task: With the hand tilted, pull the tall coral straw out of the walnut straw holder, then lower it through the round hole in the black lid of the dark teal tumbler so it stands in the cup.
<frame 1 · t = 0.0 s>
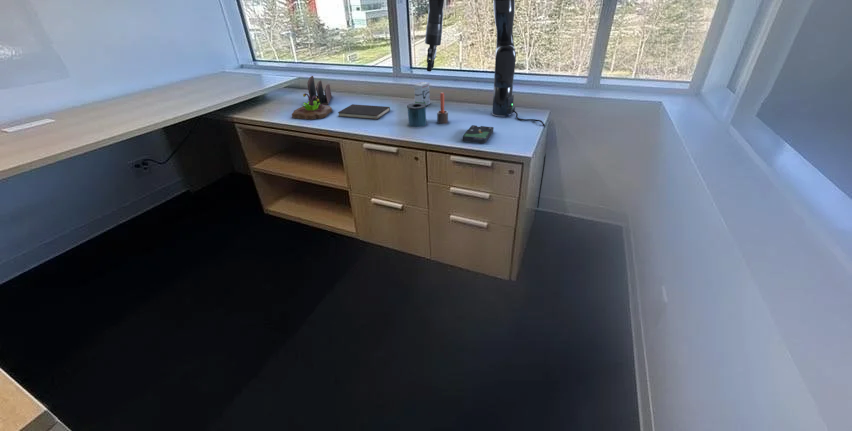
hand: (430, 69, 186), 22 cm above the cabinet, tool pointing down, fingers open, 8 cm apart
ink box: (422, 105, 213), on the cabinet
hardcover book: (364, 114, 203), on the cabinet
tumbler: (417, 125, 184), on the cabinet
letter holder: (322, 101, 228), on the cabinet
straw: (442, 107, 181), in the straw holder
straw holder: (442, 123, 185), on the cabinet
plant: (312, 114, 206), on the cabinet
tumbler lid: (416, 106, 179), on the tumbler, point 9 cm above the cabinet
disk drive: (478, 137, 167), on the cabinet
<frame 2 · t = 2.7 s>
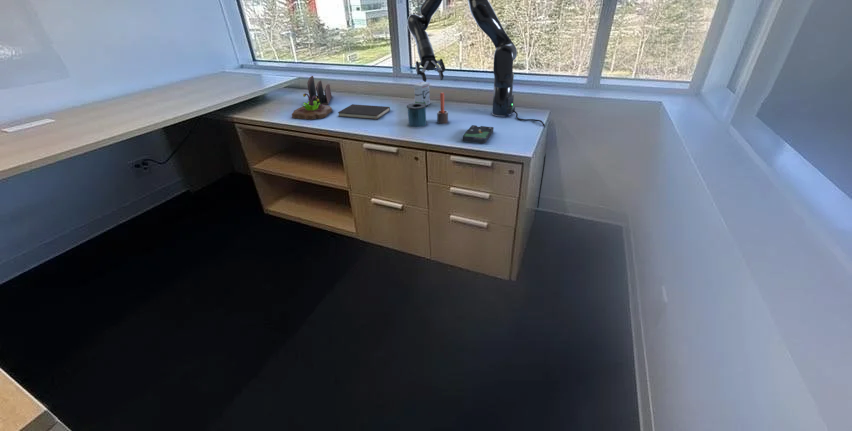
hand: (433, 80, 185), 18 cm above the cabinet, tool tilted 45°, fingers open, 8 cm apart
nothing on the cabinet moved.
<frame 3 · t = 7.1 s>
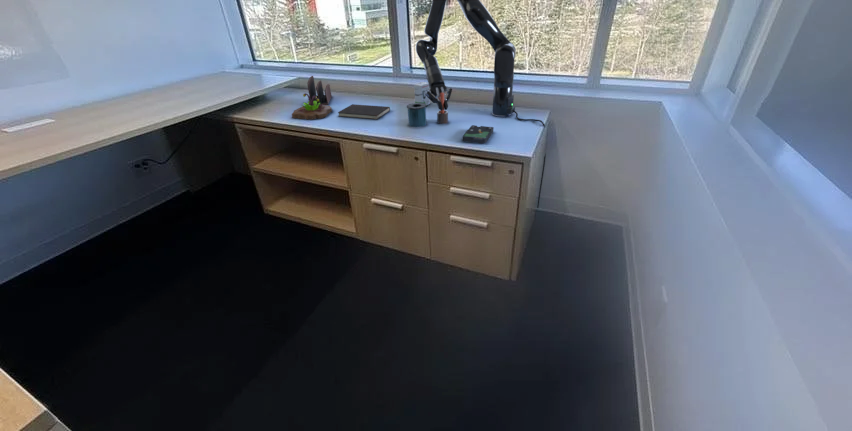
hand: (444, 109, 179), 7 cm above the cabinet, tool tilted 45°, fingers closed on straw, 2 cm apart
straw: (442, 107, 181), in the straw holder, touching gripper
everything else where it was.
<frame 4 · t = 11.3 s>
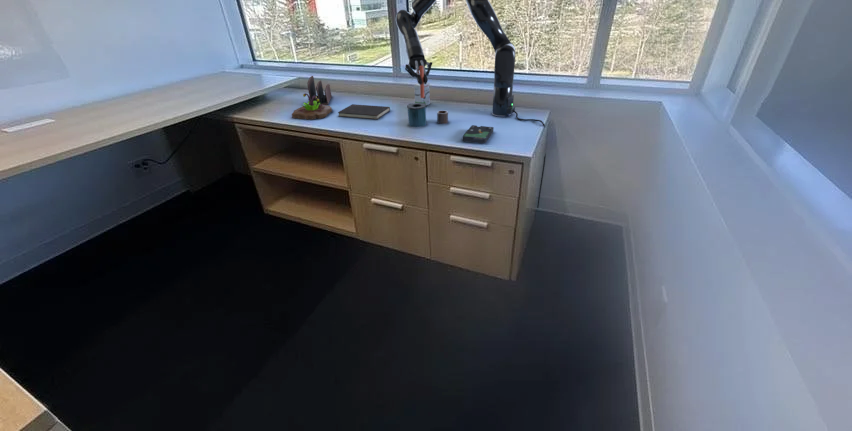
hand: (423, 83, 172), 20 cm above the cabinet, tool tilted 45°, fingers closed on straw, 2 cm apart
straw: (421, 82, 174), point 20 cm above the cabinet, touching gripper
everything else where it was.
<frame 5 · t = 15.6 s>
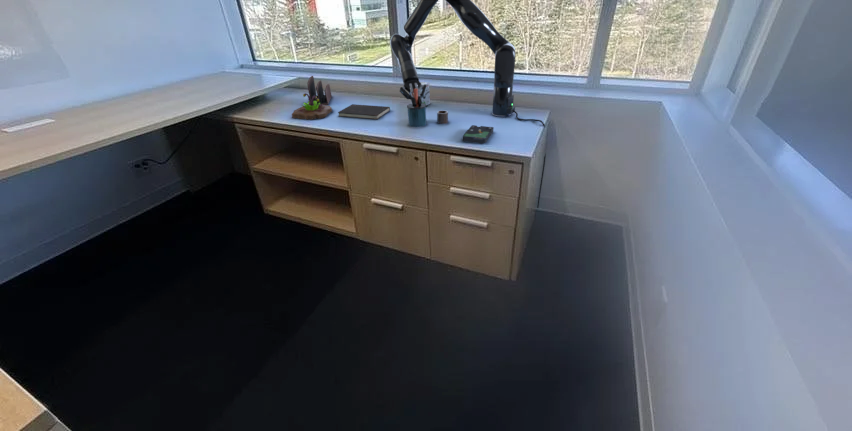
hand: (417, 105, 177), 10 cm above the cabinet, tool tilted 45°, fingers closed, pressing on straw, tumbler lid
straw: (416, 104, 178), point 10 cm above the cabinet, touching gripper
everything else where it was.
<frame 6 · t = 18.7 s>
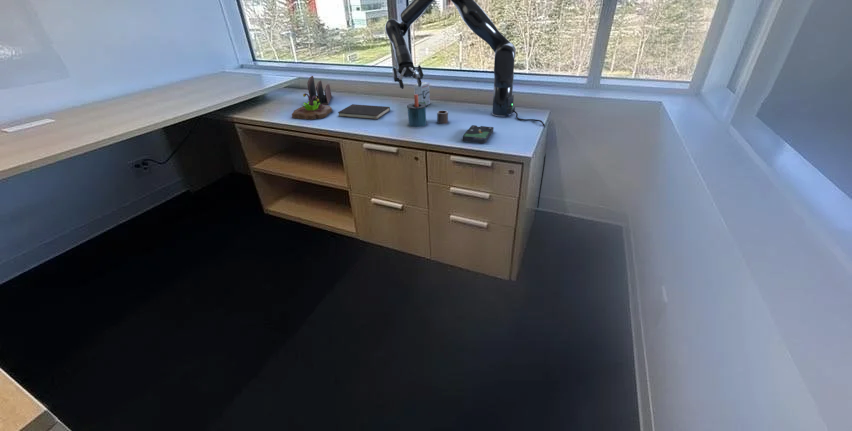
hand: (411, 87, 180), 17 cm above the cabinet, tool tilted 45°, fingers open, 8 cm apart
straw: (416, 109, 180), in the tumbler, point 8 cm above the cabinet
everything else where it was.
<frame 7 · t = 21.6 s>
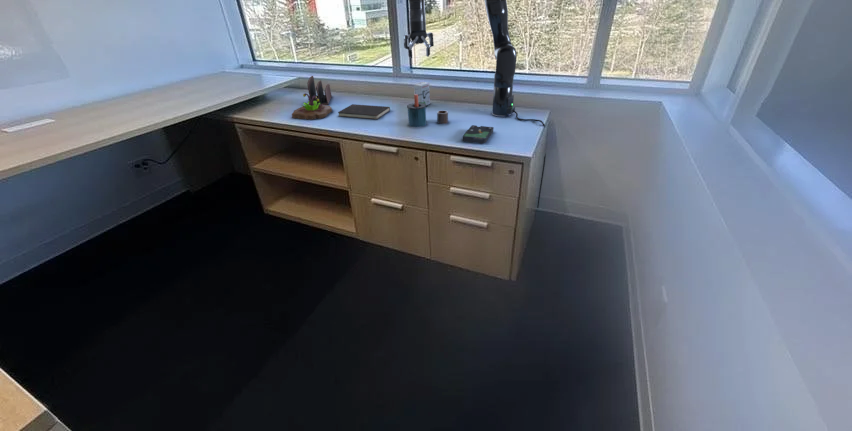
hand: (419, 57, 183), 28 cm above the cabinet, tool pointing down, fingers open, 8 cm apart
nothing on the cabinet moved.
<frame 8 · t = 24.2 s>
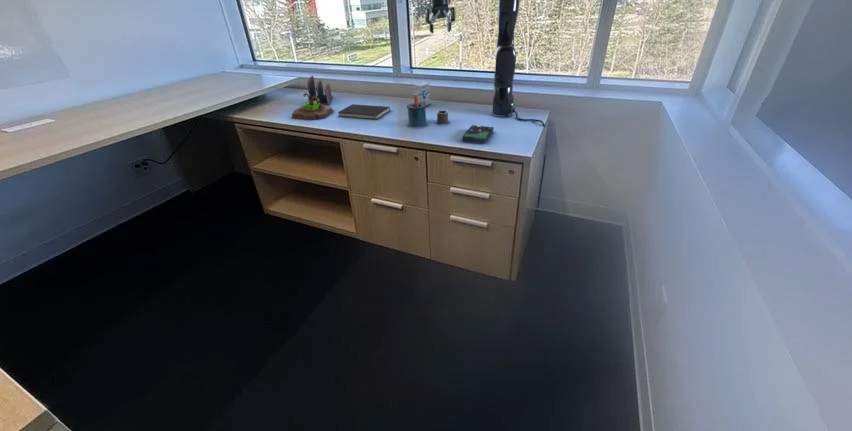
hand: (440, 32, 181), 38 cm above the cabinet, tool pointing down, fingers open, 8 cm apart
nothing on the cabinet moved.
at the end: straw 0.0 cm off-centre in the tumbler, point 7.6 cm above the tumbler's base; straw tilted 0°; the gripper is holding nothing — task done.
